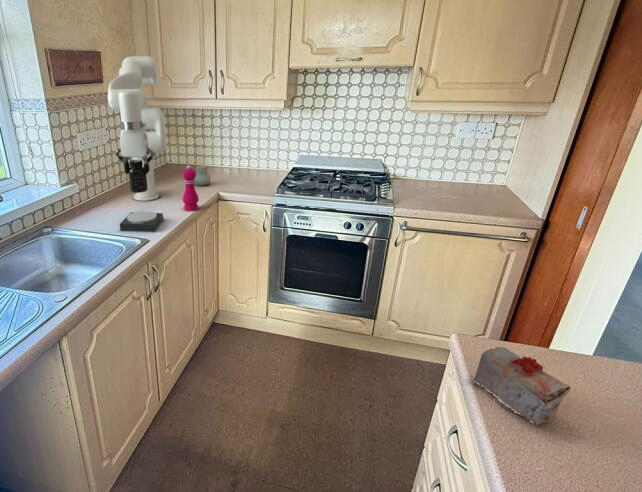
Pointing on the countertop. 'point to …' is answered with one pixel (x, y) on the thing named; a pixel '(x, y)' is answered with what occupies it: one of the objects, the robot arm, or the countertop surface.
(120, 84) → the robot arm
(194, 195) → the pepper mill
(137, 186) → the supplement bottle
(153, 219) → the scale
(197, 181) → the air freshener
